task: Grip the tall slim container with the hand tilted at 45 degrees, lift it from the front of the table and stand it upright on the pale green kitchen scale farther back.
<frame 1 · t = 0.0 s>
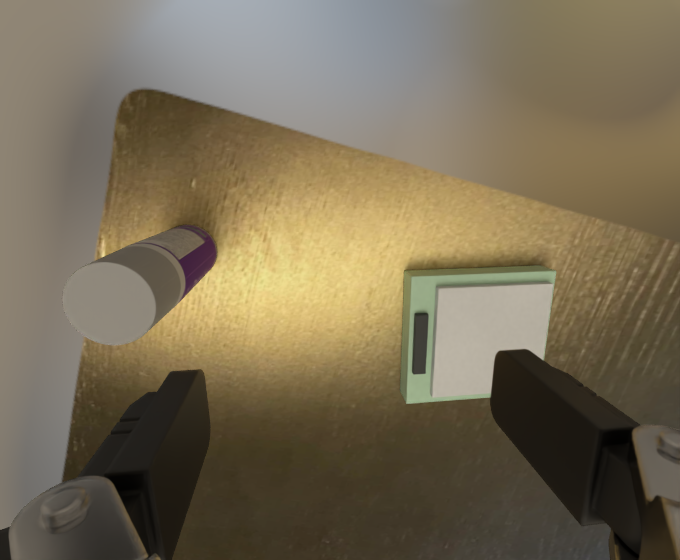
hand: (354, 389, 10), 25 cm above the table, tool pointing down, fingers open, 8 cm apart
scale: (468, 329, 38), on the table
container: (190, 250, 34), on the table
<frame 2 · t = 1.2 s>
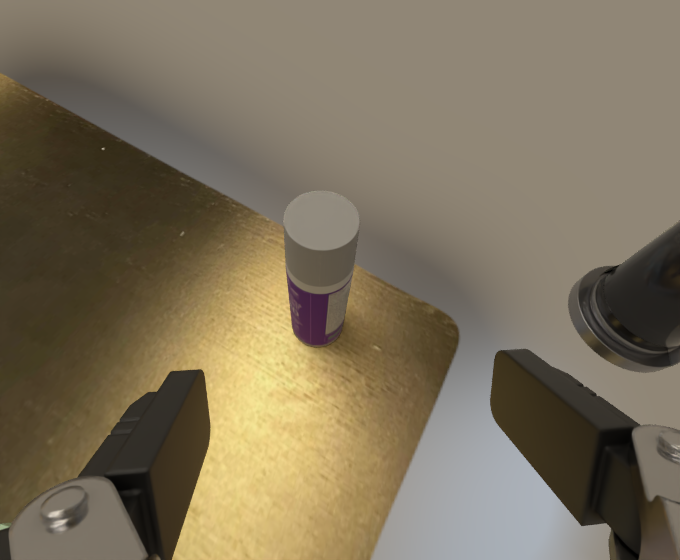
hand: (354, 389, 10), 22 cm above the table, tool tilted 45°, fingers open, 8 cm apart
container: (317, 324, 35), on the table
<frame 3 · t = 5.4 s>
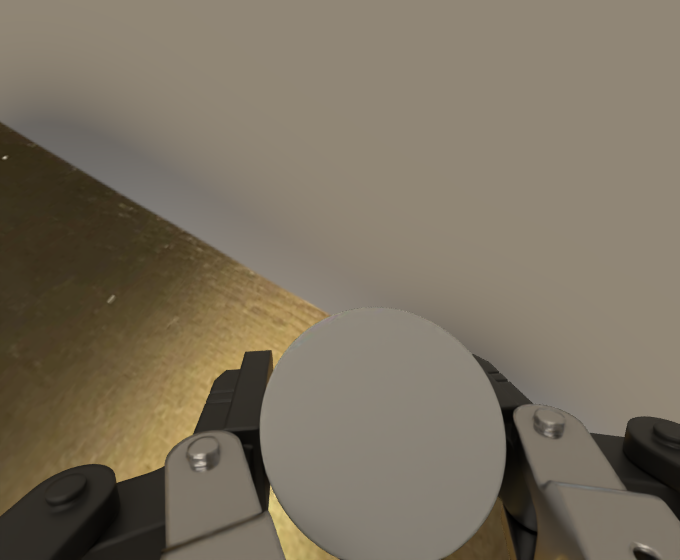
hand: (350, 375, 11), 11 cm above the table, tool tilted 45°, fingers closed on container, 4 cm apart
container: (333, 471, 20), on the table, touching gripper
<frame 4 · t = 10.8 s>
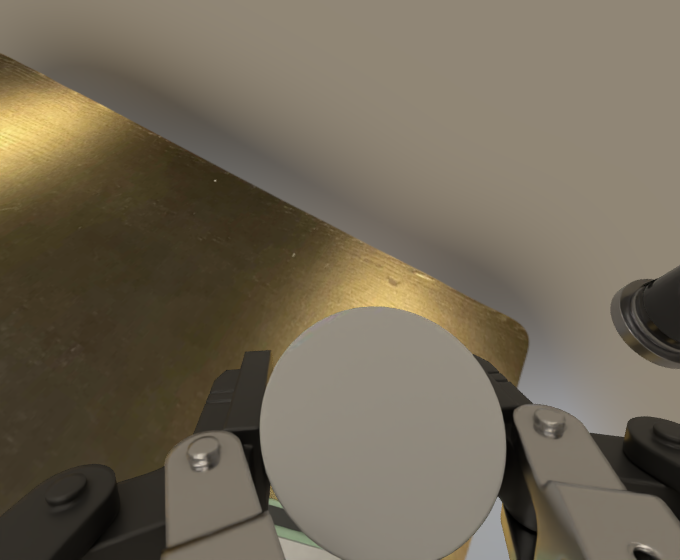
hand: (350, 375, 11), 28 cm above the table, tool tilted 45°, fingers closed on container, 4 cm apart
container: (334, 471, 20), point 17 cm above the table, touching gripper
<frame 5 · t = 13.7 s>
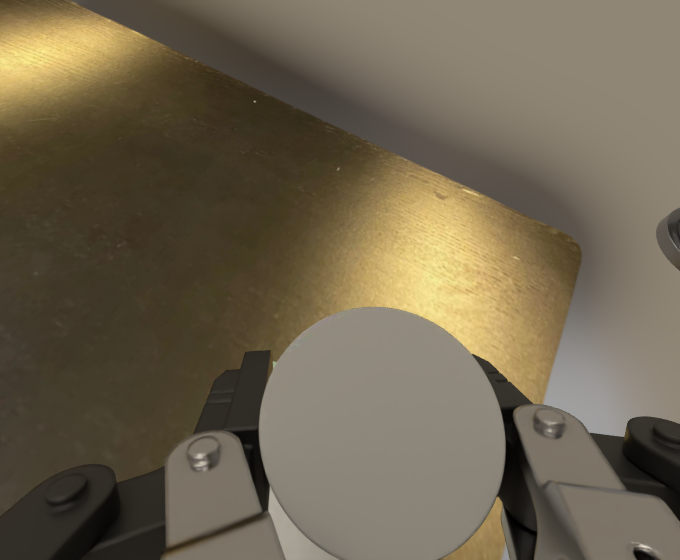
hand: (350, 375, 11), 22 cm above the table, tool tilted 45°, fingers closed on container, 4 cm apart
scale: (324, 477, 29), on the table
container: (334, 471, 20), point 10 cm above the table, touching gripper
when the fingers open (14 cm above the table, at t = 16.2 s): container stays where it is, resting on scale.
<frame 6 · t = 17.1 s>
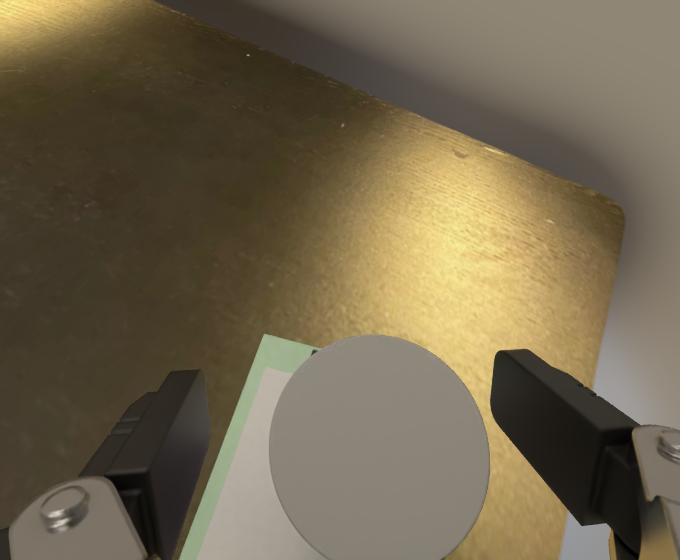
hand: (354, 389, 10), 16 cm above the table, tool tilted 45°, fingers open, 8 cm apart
scale: (329, 476, 23), on the table
container: (335, 476, 21), point 3 cm above the table, touching scale
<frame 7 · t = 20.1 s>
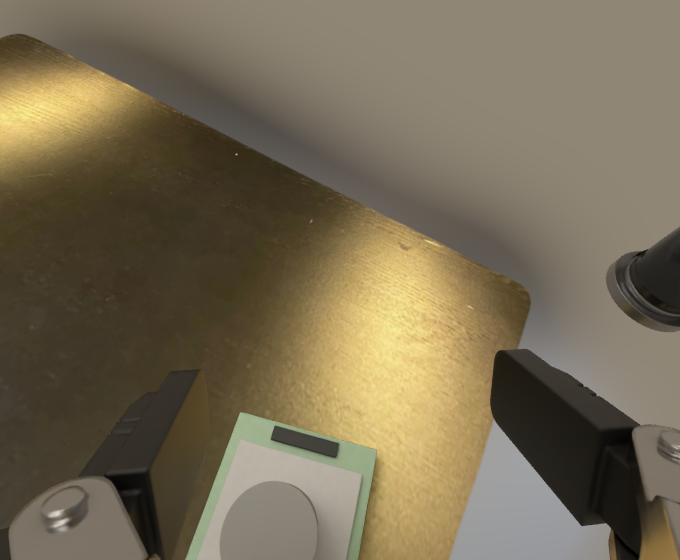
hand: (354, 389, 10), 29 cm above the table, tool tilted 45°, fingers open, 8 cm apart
scale: (285, 517, 33), on the table
container: (285, 521, 30), point 3 cm above the table, touching scale
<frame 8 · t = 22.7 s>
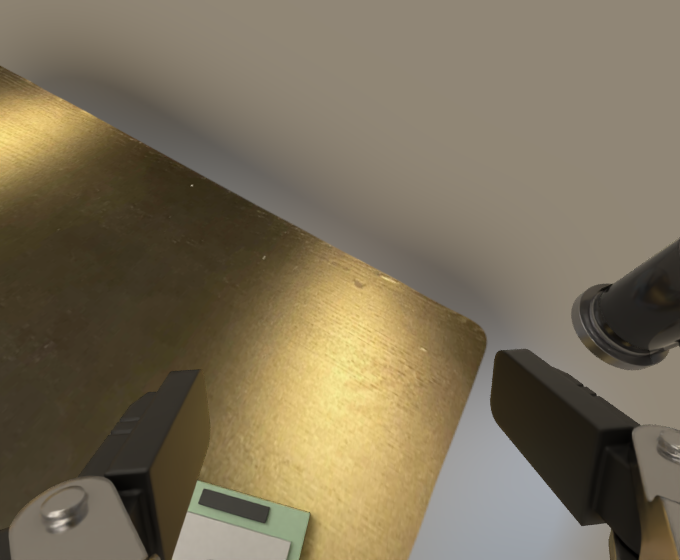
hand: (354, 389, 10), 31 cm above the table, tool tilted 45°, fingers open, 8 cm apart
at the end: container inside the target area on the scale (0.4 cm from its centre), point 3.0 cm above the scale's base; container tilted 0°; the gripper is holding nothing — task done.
